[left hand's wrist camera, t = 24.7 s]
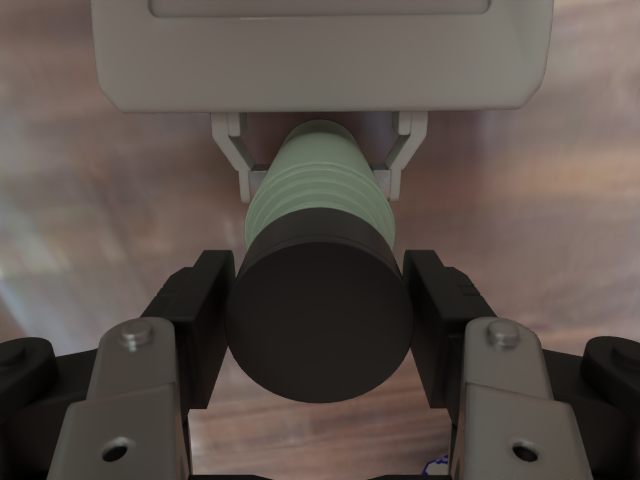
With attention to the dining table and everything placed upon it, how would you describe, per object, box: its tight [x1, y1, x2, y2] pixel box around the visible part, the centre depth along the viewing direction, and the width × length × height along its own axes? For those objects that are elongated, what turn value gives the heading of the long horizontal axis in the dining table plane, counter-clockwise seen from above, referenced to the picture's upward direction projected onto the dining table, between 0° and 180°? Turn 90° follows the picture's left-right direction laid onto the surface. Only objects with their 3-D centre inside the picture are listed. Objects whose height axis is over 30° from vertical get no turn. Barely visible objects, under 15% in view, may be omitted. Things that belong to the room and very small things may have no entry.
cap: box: [224, 207, 415, 403], centre depth 11 cm, size 4×4×2 cm
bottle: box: [244, 119, 395, 252], centre depth 19 cm, size 5×5×19 cm
